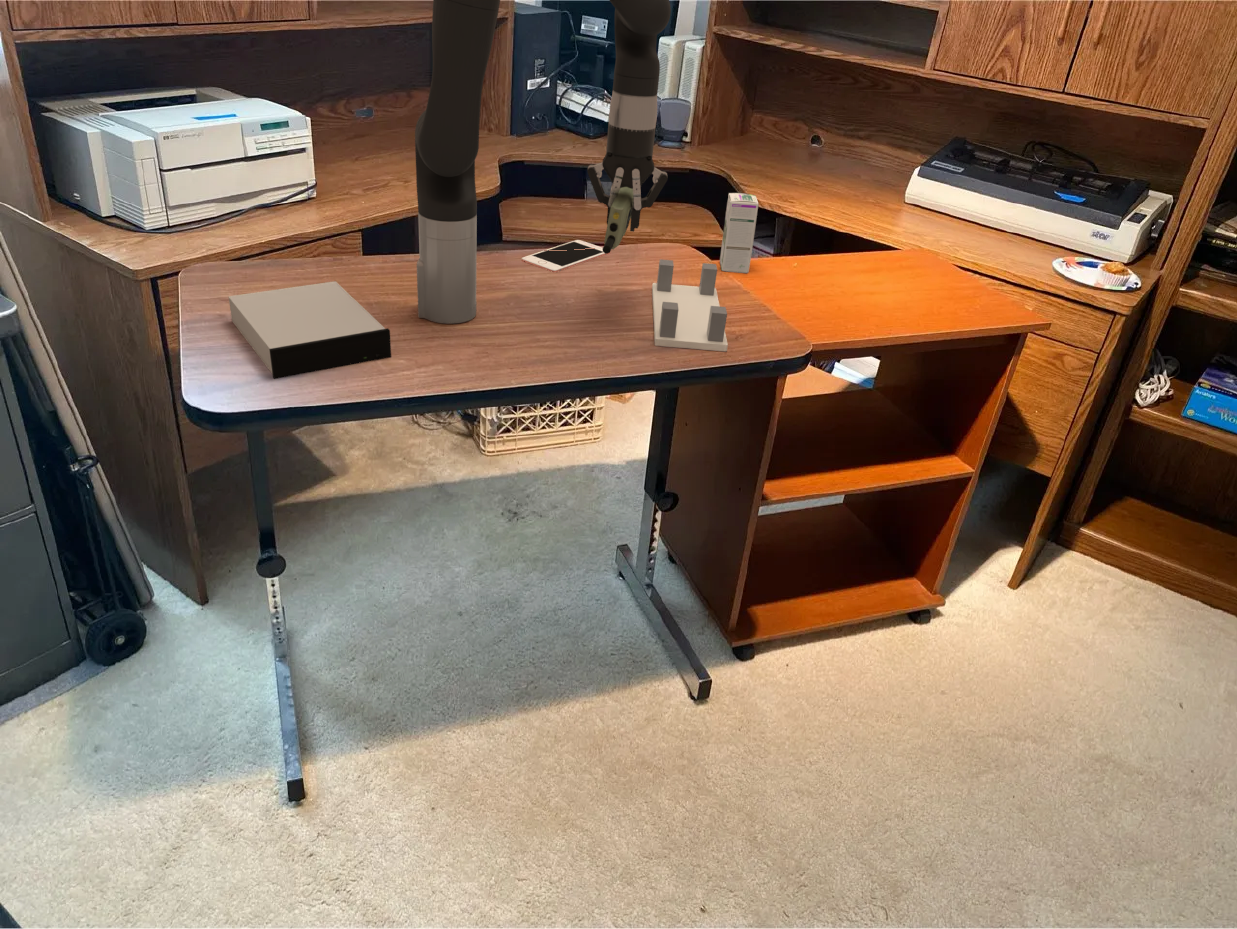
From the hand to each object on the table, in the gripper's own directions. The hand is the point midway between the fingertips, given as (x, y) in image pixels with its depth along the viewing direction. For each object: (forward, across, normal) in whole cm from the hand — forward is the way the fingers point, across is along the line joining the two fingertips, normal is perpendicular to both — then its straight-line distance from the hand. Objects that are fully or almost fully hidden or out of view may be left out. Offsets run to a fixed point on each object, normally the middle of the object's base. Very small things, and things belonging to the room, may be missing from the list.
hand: (622, 228), depth 156 cm
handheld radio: (+1, -1, 0) cm, 2 cm away
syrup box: (+15, +24, +29) cm, 41 cm away
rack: (+15, +13, 0) cm, 20 cm away
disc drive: (+16, -47, -21) cm, 54 cm away
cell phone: (+16, -10, +27) cm, 33 cm away
